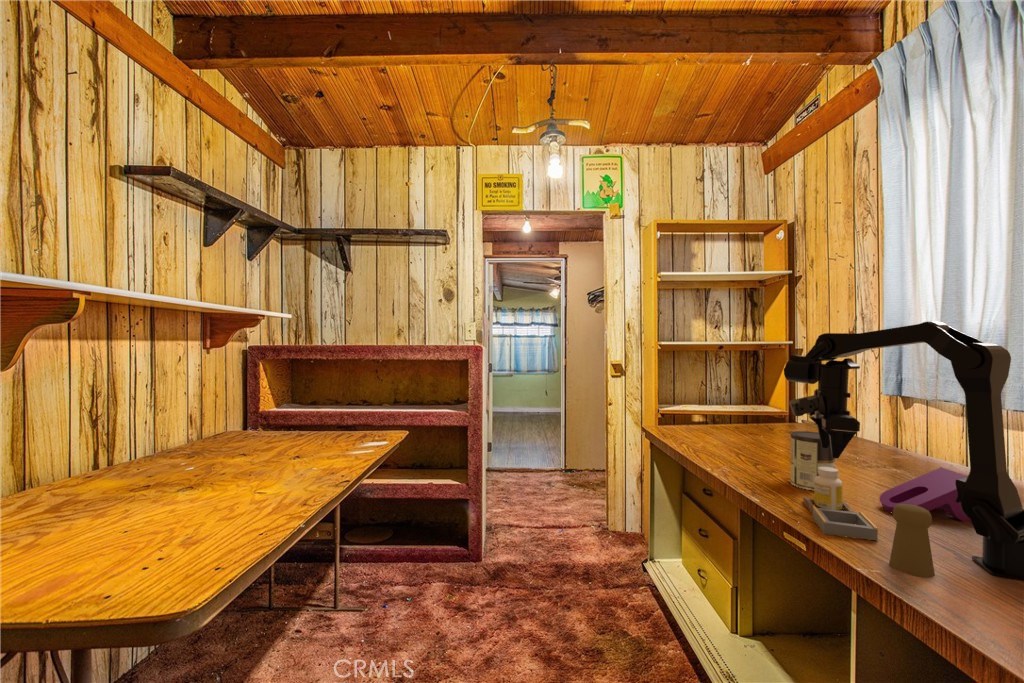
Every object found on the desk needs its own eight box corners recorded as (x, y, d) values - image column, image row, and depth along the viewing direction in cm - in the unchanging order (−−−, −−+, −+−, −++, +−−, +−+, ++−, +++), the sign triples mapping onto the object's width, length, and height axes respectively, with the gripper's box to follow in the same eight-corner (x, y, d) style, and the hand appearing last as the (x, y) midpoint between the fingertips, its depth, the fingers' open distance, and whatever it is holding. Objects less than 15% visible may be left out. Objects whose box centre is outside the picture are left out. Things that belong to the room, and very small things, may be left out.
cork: (912, 559, 82) (912, 499, 82) (945, 577, 76) (945, 512, 76) (880, 560, 82) (880, 500, 82) (910, 577, 76) (911, 513, 76)
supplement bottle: (836, 507, 107) (836, 466, 107) (846, 516, 102) (847, 473, 102) (810, 505, 109) (810, 464, 109) (819, 513, 104) (819, 471, 104)
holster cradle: (854, 518, 101) (854, 511, 101) (811, 513, 104) (811, 506, 104) (843, 506, 108) (843, 500, 108) (803, 501, 111) (803, 495, 111)
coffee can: (830, 483, 125) (831, 432, 125) (839, 494, 116) (839, 440, 116) (787, 478, 130) (788, 429, 130) (792, 489, 121) (793, 436, 120)
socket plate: (877, 541, 90) (877, 527, 90) (824, 534, 93) (824, 521, 93) (861, 523, 98) (861, 511, 98) (812, 517, 101) (812, 505, 101)
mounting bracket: (917, 547, 100) (996, 514, 99) (900, 512, 100) (978, 479, 99) (885, 528, 110) (956, 498, 108) (869, 497, 110) (940, 467, 108)
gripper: (785, 380, 117) (783, 439, 117) (800, 389, 99) (798, 459, 100) (837, 383, 112) (834, 444, 113) (862, 393, 95) (858, 466, 96)
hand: (829, 452), depth 106 cm, fingers open, 9 cm apart
